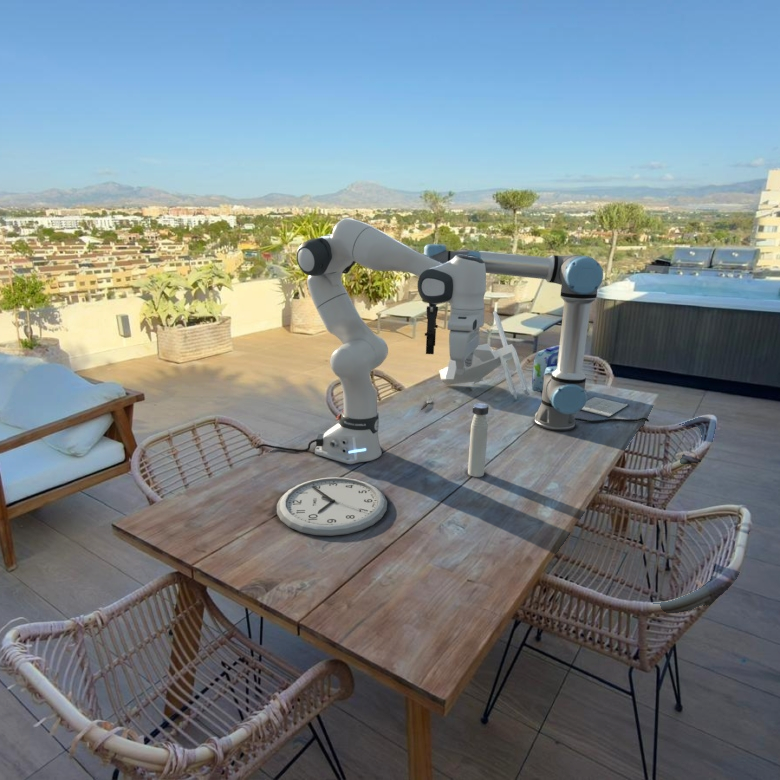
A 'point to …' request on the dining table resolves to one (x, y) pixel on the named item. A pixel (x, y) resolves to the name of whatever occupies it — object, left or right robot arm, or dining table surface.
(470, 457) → the bottle
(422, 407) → the fork
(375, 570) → the dining table surface
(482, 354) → the white plastic object
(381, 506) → the wall clock
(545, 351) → the lunch box
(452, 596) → the dining table surface
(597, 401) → the invitation card
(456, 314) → the left robot arm
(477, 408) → the cap
